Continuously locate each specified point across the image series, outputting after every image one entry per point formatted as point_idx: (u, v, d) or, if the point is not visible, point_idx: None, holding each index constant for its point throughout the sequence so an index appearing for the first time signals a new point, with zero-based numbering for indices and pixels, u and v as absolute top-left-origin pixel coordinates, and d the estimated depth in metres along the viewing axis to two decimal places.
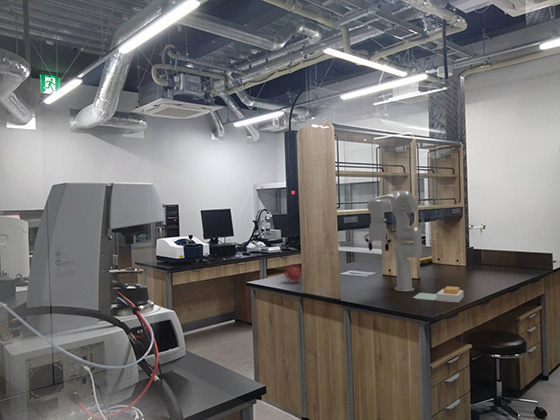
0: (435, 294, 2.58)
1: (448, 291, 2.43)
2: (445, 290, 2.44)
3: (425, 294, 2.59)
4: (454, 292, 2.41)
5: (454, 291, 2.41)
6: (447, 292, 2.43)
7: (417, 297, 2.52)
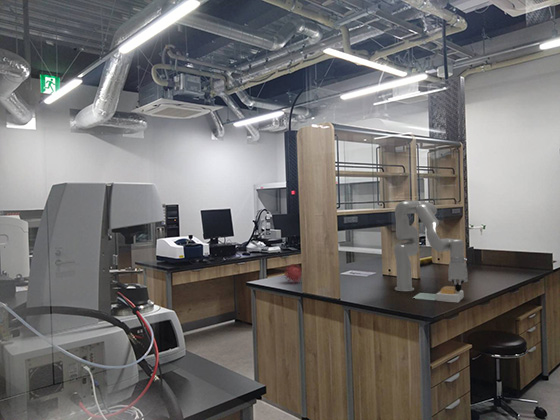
0: (435, 294, 2.58)
1: (445, 291, 2.44)
2: (442, 290, 2.44)
3: (425, 294, 2.59)
4: (451, 292, 2.42)
5: (451, 291, 2.42)
6: (444, 292, 2.44)
7: (417, 297, 2.52)
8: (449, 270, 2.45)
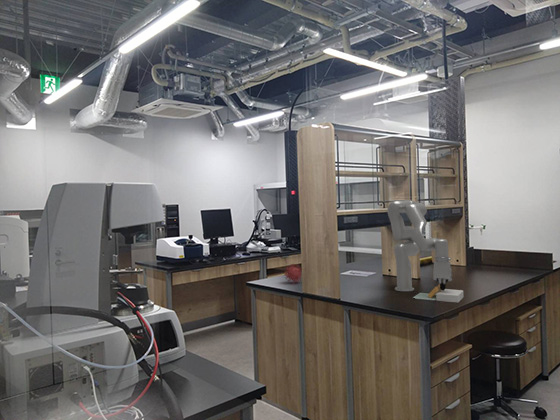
0: None
1: (431, 293, 2.48)
2: (429, 294, 2.49)
3: (425, 294, 2.59)
4: (435, 290, 2.47)
5: (435, 289, 2.47)
6: (431, 294, 2.48)
7: (417, 297, 2.52)
8: (434, 269, 2.50)
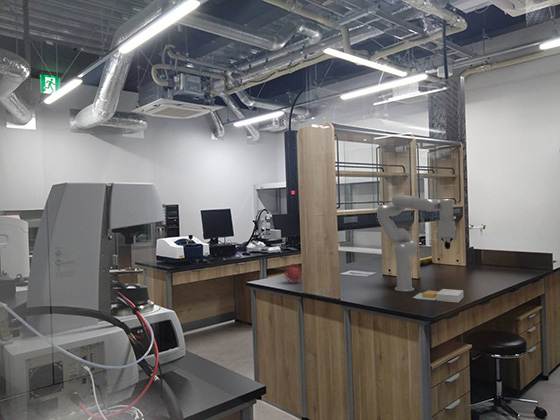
0: None
1: (426, 295, 2.50)
2: (423, 294, 2.51)
3: None
4: (432, 296, 2.48)
5: (432, 295, 2.48)
6: (425, 296, 2.51)
7: (417, 297, 2.52)
8: (439, 228, 2.54)
